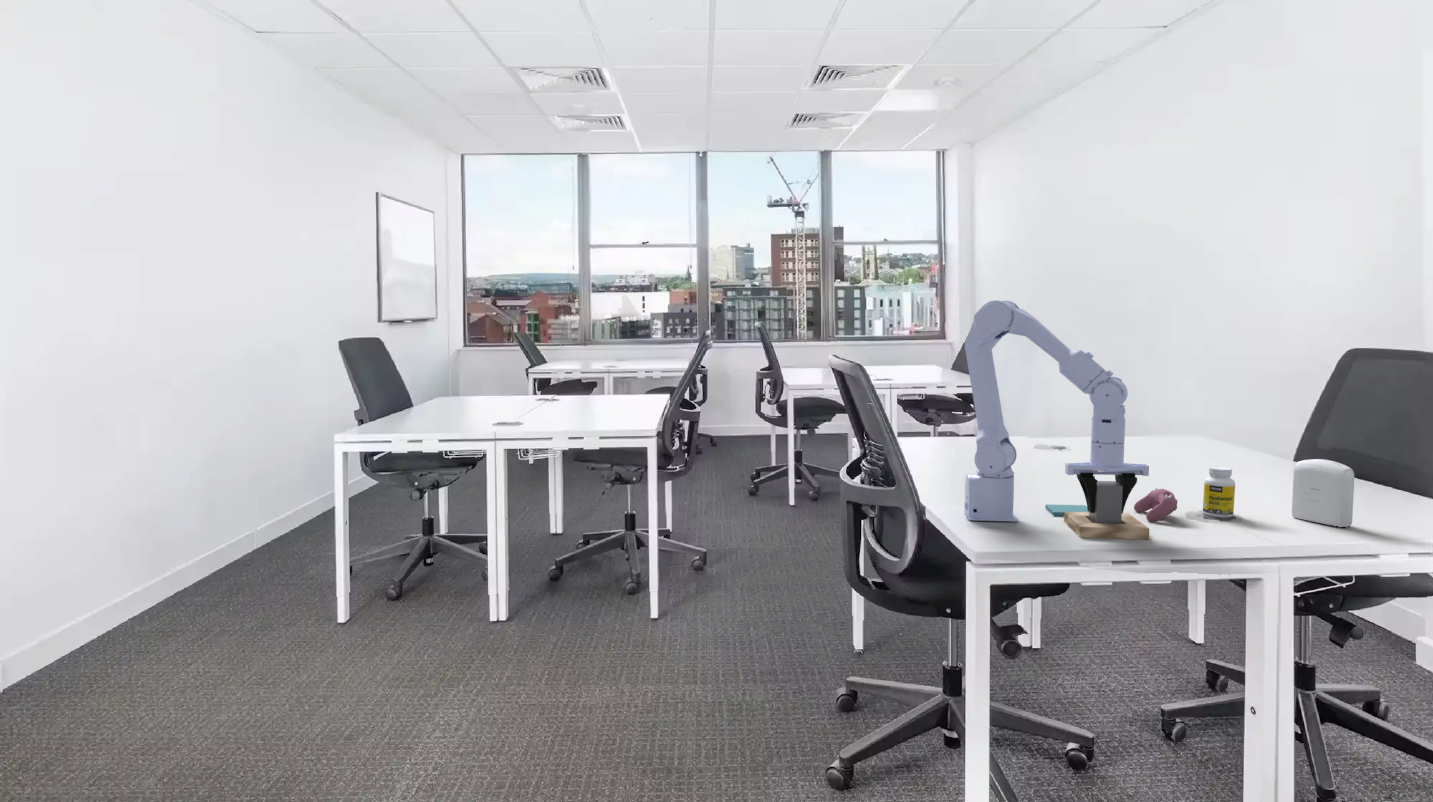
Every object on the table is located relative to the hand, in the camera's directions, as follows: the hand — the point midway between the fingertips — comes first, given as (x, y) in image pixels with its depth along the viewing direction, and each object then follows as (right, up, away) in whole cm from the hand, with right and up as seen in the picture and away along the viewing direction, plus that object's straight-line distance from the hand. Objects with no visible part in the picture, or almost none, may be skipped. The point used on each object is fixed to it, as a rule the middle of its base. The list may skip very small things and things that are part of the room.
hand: (1105, 511), depth 158 cm
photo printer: (+44, -3, +4) cm, 45 cm away
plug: (0, -3, 0) cm, 3 cm away
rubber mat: (-1, -2, +15) cm, 15 cm away
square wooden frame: (0, -4, 0) cm, 3 cm away
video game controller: (+15, -3, +10) cm, 18 cm away
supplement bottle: (+28, -2, +11) cm, 30 cm away
